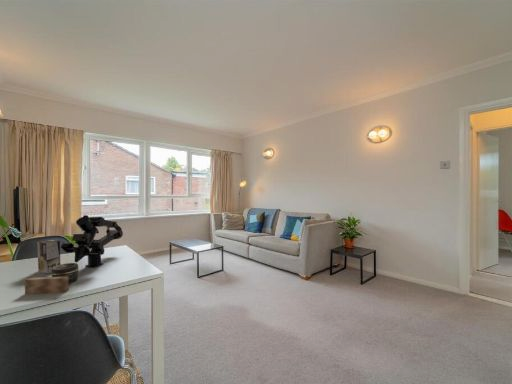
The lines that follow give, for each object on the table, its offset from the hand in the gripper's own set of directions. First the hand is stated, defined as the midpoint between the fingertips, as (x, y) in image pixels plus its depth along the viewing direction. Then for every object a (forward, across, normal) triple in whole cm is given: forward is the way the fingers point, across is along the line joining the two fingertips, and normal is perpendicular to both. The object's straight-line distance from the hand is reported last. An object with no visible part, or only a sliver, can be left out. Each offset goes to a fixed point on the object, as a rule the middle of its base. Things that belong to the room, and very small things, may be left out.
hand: (75, 262), depth 120 cm
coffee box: (-2, -20, +12) cm, 23 cm away
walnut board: (+18, 0, -8) cm, 20 cm away
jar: (+10, 0, 0) cm, 11 cm away
